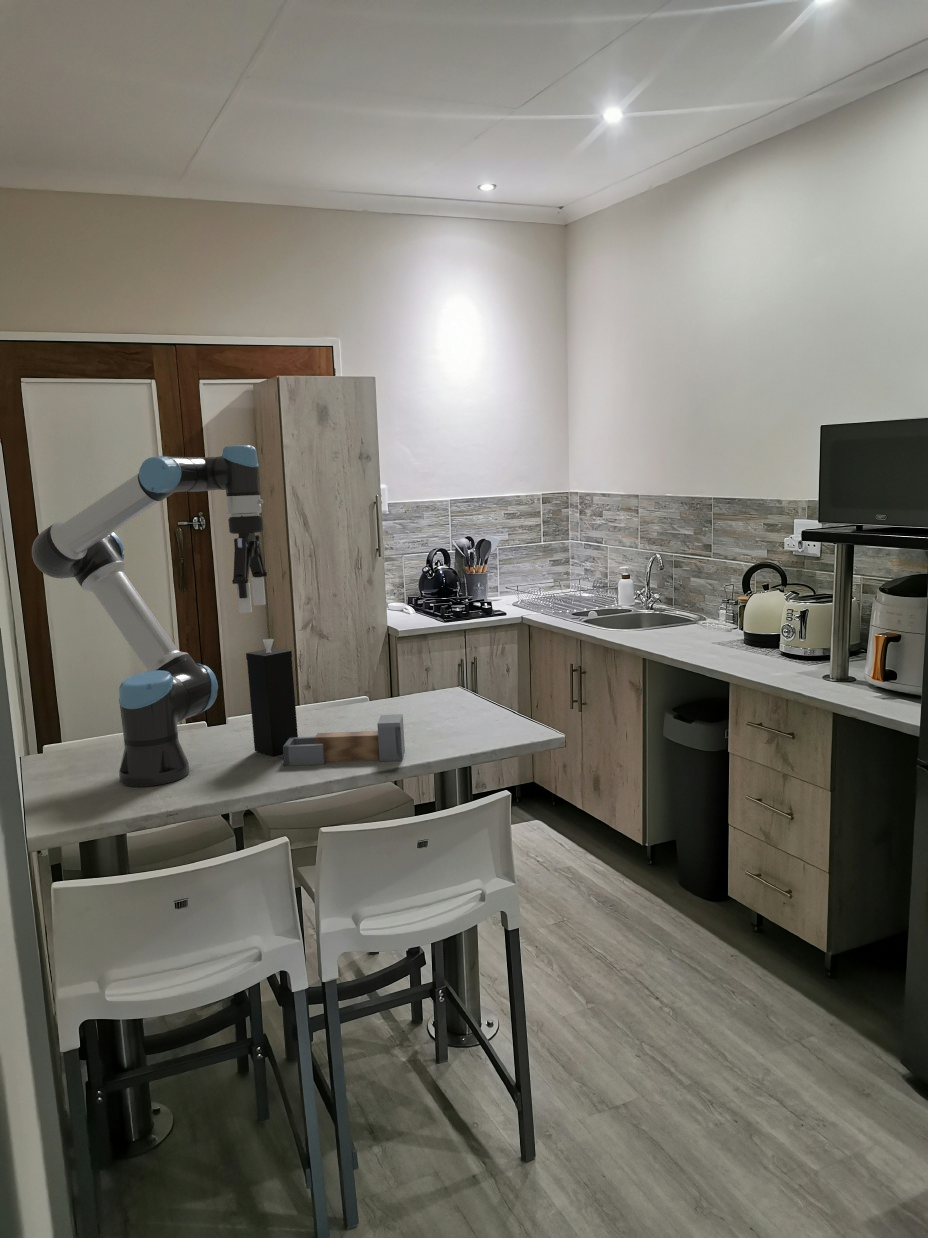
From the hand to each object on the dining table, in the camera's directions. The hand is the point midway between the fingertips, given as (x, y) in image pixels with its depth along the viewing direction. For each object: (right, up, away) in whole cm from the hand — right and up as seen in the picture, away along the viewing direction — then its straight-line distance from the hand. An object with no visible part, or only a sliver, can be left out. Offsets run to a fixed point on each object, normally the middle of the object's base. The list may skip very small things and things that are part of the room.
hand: (252, 608), depth 210 cm
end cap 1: (+11, -36, +7) cm, 38 cm away
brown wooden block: (+23, -35, +7) cm, 42 cm away
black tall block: (+2, -35, +16) cm, 39 cm away
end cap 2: (+31, -35, +7) cm, 47 cm away
